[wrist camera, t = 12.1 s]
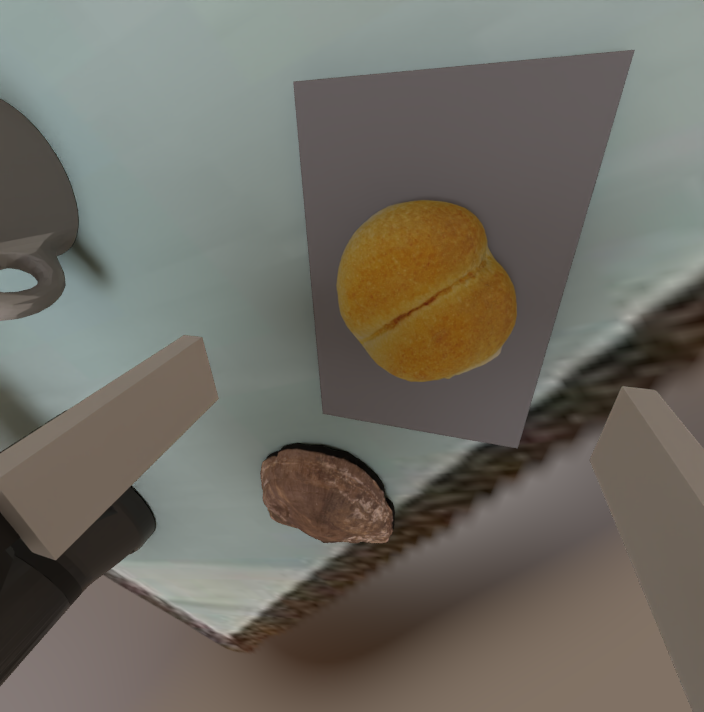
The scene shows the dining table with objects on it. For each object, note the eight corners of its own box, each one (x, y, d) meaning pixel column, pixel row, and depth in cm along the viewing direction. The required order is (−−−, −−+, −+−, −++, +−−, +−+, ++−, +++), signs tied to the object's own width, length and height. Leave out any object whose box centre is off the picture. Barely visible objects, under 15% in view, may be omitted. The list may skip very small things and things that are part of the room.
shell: (251, 427, 30) (227, 457, 27) (396, 452, 27) (386, 490, 24) (273, 512, 36) (255, 545, 33) (395, 543, 32) (387, 582, 29)
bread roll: (448, 159, 15) (441, 161, 12) (535, 323, 18) (550, 363, 14) (313, 259, 19) (281, 282, 16) (399, 381, 22) (386, 422, 18)
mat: (516, 439, 22) (517, 448, 22) (326, 406, 26) (322, 413, 25) (626, 54, 13) (634, 49, 12) (300, 84, 16) (293, 81, 15)
